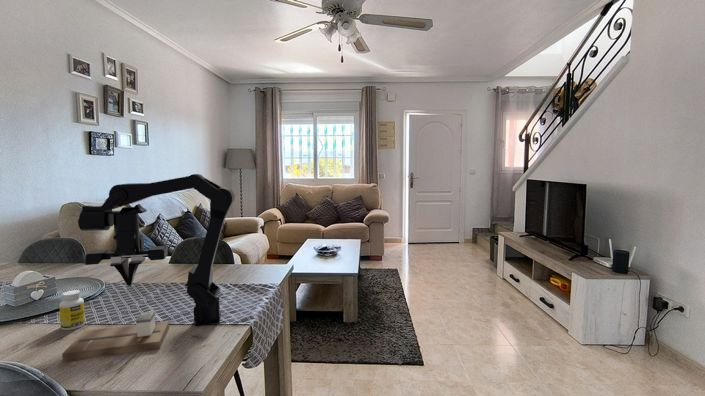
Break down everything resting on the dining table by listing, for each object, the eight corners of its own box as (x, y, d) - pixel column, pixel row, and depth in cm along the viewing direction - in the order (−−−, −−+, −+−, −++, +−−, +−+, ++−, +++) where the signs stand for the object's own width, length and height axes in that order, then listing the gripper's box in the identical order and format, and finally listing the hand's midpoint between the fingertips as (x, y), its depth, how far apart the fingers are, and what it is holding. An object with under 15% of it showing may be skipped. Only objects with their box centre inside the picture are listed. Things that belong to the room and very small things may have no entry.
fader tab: (155, 326, 95) (155, 311, 95) (151, 335, 90) (150, 319, 90) (142, 328, 94) (141, 312, 94) (136, 337, 89) (135, 320, 89)
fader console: (169, 328, 99) (168, 320, 99) (159, 349, 88) (159, 341, 88) (84, 338, 93) (84, 330, 93) (62, 361, 82) (62, 353, 82)
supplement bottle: (71, 331, 97) (69, 296, 96) (55, 329, 98) (53, 295, 97) (90, 323, 102) (87, 289, 101) (74, 321, 103) (72, 288, 103)
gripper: (169, 223, 108) (172, 274, 109) (97, 226, 102) (100, 279, 103) (162, 229, 97) (165, 285, 99) (81, 233, 92) (85, 292, 93)
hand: (129, 285), depth 99 cm, fingers closed
